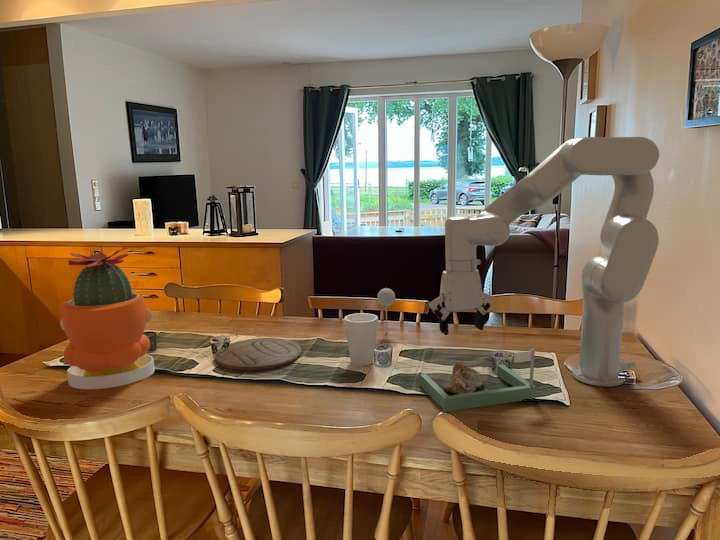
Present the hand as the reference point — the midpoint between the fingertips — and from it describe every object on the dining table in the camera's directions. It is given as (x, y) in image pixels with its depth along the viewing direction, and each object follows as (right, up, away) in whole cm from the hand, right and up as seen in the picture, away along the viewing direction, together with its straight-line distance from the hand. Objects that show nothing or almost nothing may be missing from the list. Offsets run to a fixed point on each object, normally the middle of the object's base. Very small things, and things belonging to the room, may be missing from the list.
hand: (462, 331), depth 140 cm
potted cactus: (-92, -14, +6) cm, 94 cm away
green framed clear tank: (+2, -14, -6) cm, 15 cm away
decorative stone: (0, -14, -4) cm, 15 cm away
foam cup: (-26, -11, +15) cm, 32 cm away
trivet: (-56, -10, +22) cm, 61 cm away
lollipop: (-17, -5, +42) cm, 46 cm away
